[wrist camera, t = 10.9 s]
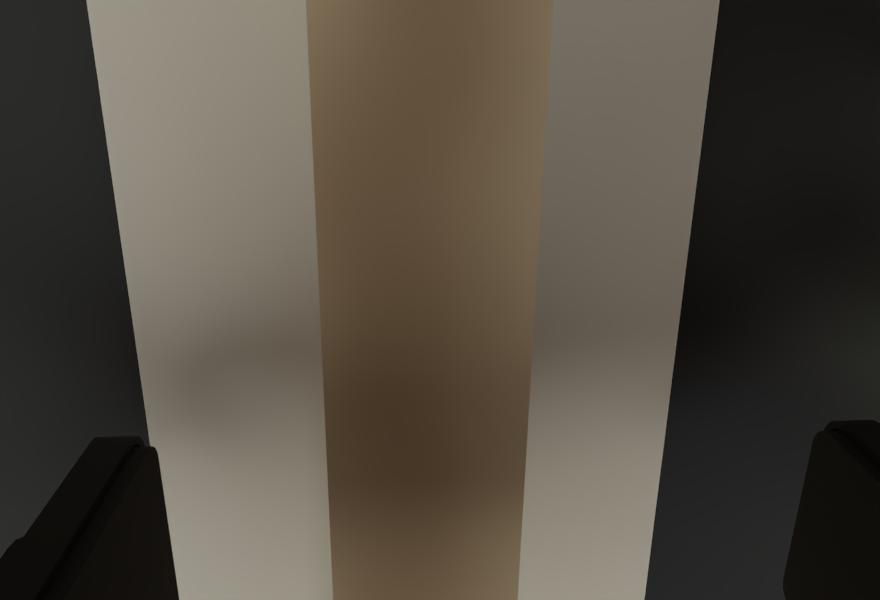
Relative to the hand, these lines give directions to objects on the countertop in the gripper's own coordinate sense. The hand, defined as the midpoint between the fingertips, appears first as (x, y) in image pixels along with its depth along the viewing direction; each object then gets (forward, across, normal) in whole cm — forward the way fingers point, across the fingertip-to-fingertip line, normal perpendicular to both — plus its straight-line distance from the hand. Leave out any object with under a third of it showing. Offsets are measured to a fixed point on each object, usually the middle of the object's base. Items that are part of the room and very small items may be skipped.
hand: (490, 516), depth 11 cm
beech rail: (+4, +1, 0) cm, 4 cm away
